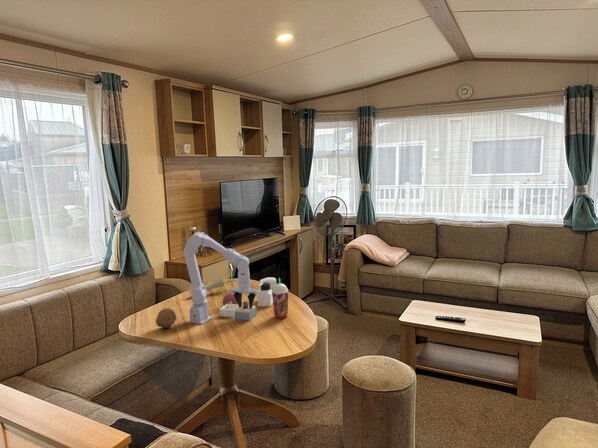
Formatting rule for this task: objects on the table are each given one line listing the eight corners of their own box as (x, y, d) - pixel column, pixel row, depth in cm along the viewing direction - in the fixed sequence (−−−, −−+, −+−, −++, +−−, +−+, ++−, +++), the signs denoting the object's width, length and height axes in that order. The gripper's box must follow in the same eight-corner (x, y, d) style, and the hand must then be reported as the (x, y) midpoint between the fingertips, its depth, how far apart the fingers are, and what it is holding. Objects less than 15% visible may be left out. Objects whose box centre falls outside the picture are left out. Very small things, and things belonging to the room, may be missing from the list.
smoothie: (287, 320, 200) (285, 280, 197) (271, 319, 202) (269, 280, 199) (291, 313, 208) (289, 276, 205) (275, 313, 210) (273, 275, 207)
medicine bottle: (273, 302, 227) (272, 281, 225) (270, 306, 220) (269, 285, 218) (260, 302, 228) (259, 281, 226) (257, 306, 221) (256, 285, 219)
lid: (249, 313, 200) (248, 305, 200) (235, 311, 203) (235, 304, 202) (255, 307, 207) (255, 300, 207) (242, 306, 210) (242, 299, 209)
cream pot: (233, 317, 206) (233, 310, 205) (219, 316, 208) (219, 308, 208) (240, 312, 213) (240, 304, 213) (227, 310, 216) (226, 303, 215)
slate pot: (250, 321, 201) (249, 313, 200) (235, 319, 203) (235, 311, 203) (256, 315, 208) (256, 307, 208) (242, 313, 211) (242, 306, 210)
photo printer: (275, 296, 237) (274, 275, 235) (278, 298, 233) (277, 277, 231) (258, 299, 232) (257, 278, 231) (261, 301, 229) (260, 280, 227)
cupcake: (225, 311, 222) (231, 312, 212) (217, 298, 221) (223, 299, 211) (238, 302, 226) (245, 303, 216) (230, 289, 225) (237, 290, 215)
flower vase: (196, 307, 245) (248, 285, 260) (199, 307, 234) (254, 284, 249) (189, 289, 245) (241, 267, 260) (192, 288, 234) (247, 266, 249)
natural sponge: (180, 328, 195) (178, 308, 193) (162, 334, 189) (160, 313, 187) (171, 323, 201) (170, 304, 200) (154, 328, 195) (152, 309, 194)
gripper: (260, 279, 204) (262, 305, 206) (234, 277, 209) (236, 303, 211) (254, 283, 198) (256, 310, 200) (228, 281, 202) (229, 308, 204)
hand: (245, 307), depth 205 cm, fingers open, 5 cm apart
